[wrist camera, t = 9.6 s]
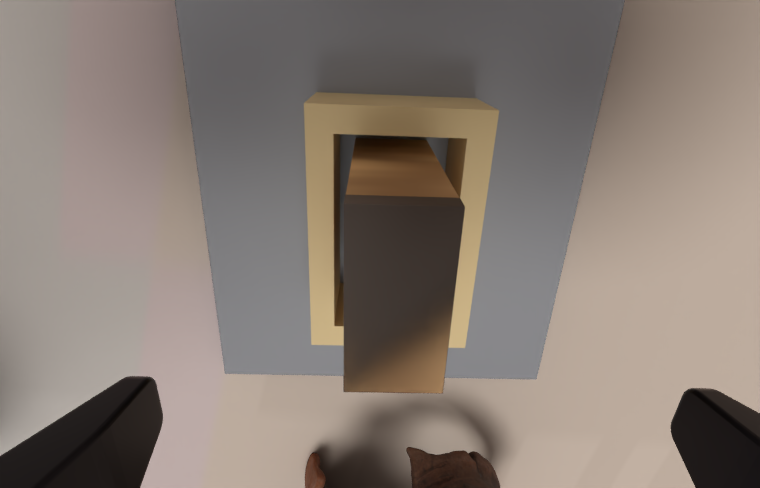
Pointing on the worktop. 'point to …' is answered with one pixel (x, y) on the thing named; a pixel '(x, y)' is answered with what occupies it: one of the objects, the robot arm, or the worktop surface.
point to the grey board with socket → (389, 121)
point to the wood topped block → (398, 267)
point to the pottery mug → (430, 470)
